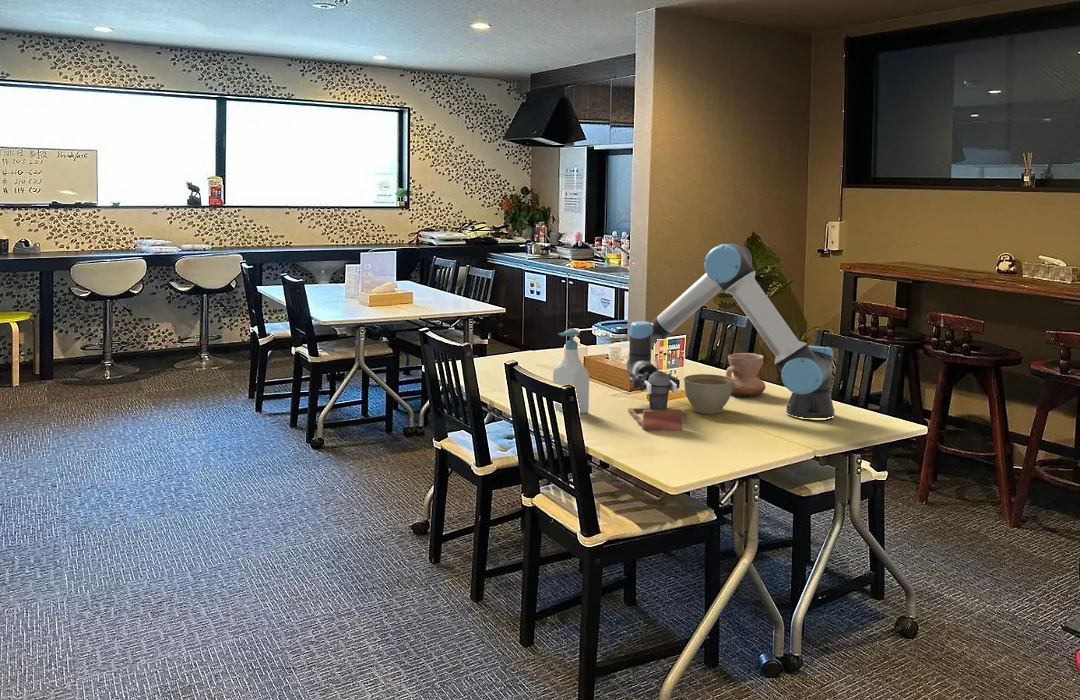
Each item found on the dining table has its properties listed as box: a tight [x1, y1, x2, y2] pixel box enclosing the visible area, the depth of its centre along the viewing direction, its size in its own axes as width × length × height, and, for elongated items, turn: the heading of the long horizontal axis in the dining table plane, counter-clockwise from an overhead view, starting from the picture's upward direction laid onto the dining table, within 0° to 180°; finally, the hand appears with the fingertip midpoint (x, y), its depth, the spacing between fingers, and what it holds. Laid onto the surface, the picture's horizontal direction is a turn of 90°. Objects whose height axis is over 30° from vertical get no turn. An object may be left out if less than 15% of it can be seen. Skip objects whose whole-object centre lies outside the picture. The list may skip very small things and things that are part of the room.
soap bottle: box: [552, 328, 590, 414], centre depth 297 cm, size 11×8×27 cm
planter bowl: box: [683, 373, 734, 415], centre depth 302 cm, size 16×16×11 cm
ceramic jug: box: [725, 352, 767, 397], centre depth 326 cm, size 18×14×14 cm
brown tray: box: [627, 407, 684, 431], centre depth 289 cm, size 23×12×6 cm, turn 6°
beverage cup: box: [648, 356, 671, 410], centre depth 283 cm, size 7×7×20 cm
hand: (662, 389), depth 278 cm, fingers closed on beverage cup, 7 cm apart
